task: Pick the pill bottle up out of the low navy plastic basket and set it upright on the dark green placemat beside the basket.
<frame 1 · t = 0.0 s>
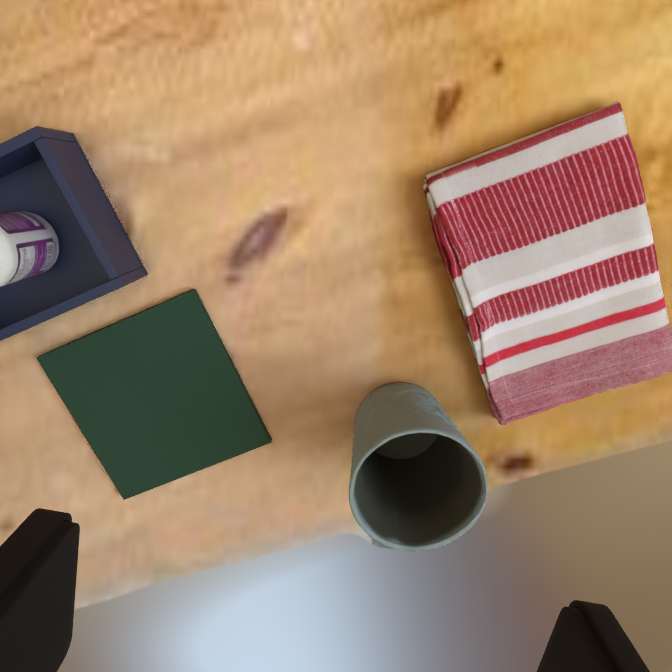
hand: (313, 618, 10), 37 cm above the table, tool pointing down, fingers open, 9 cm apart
dish towel: (548, 274, 46), on the table
mat: (158, 398, 49), on the table
basket: (33, 242, 45), on the table
gray cup: (399, 420, 50), on the table
pill bottle: (31, 243, 45), resting on basket
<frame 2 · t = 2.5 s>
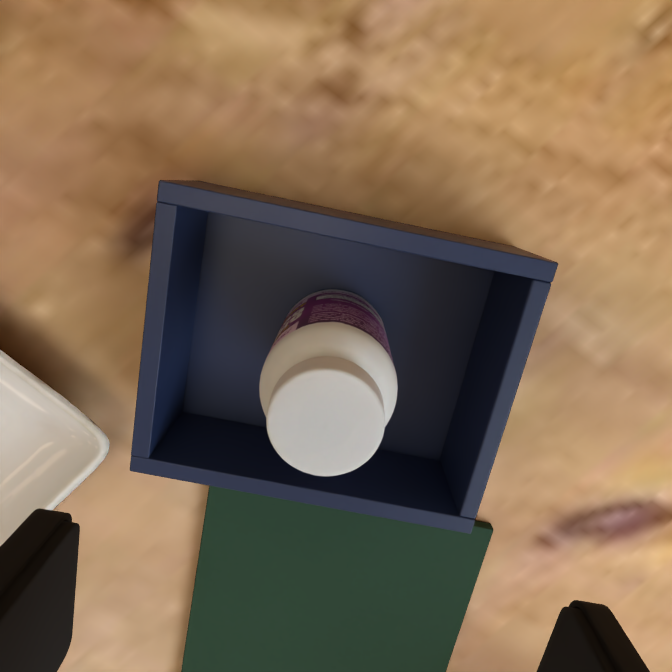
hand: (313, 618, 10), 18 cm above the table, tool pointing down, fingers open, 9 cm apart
mat: (326, 610, 32), on the table
basket: (332, 337, 27), on the table
pill bottle: (332, 338, 27), resting on basket
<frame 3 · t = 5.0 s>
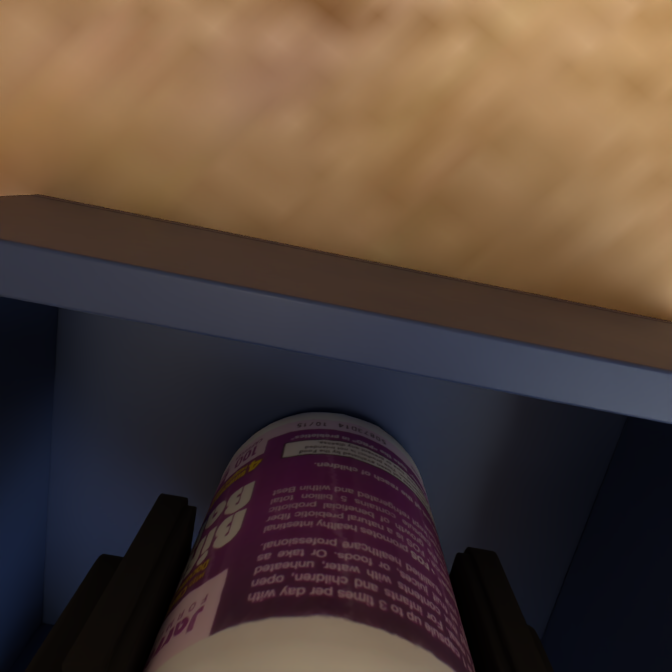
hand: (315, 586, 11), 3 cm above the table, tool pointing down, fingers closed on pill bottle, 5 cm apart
basket: (321, 490, 14), on the table
pill bottle: (321, 494, 14), resting on basket, touching gripper
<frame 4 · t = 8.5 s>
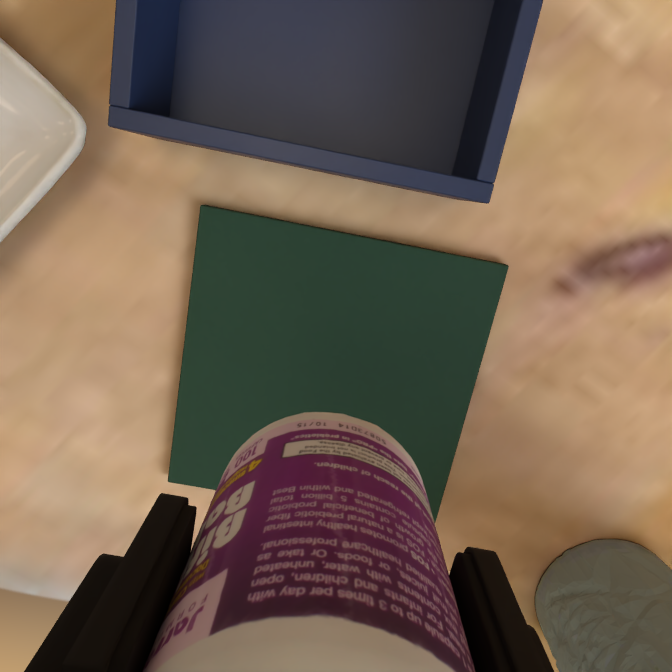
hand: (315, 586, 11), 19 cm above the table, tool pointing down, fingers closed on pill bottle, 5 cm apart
mat: (327, 376, 29), on the table
basket: (332, 30, 24), on the table
gray cup: (602, 590, 33), on the table
pill bottle: (321, 494, 14), point 15 cm above the table, touching gripper
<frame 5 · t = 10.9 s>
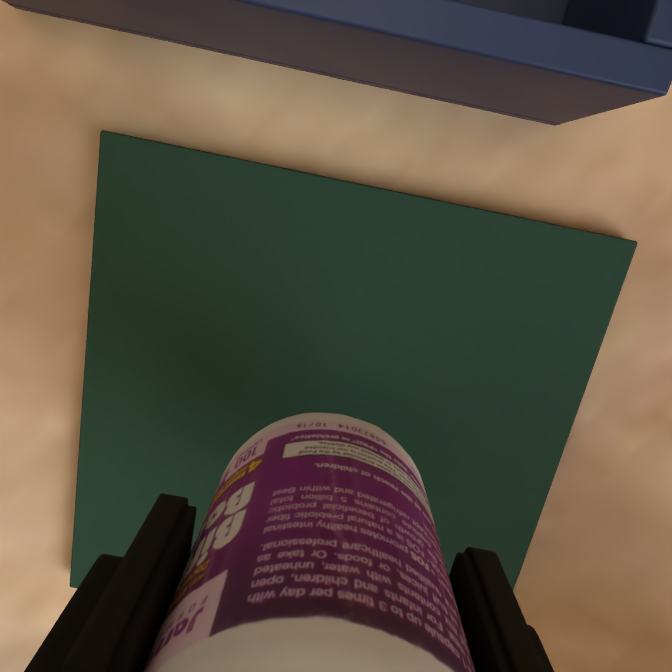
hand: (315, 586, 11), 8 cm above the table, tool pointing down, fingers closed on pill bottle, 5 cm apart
mat: (324, 424, 18), on the table
pill bottle: (320, 495, 14), point 4 cm above the table, touching gripper
when the fingers open (4 cm above the table, at t = 12.3 s): pill bottle stays where it is, resting on mat.
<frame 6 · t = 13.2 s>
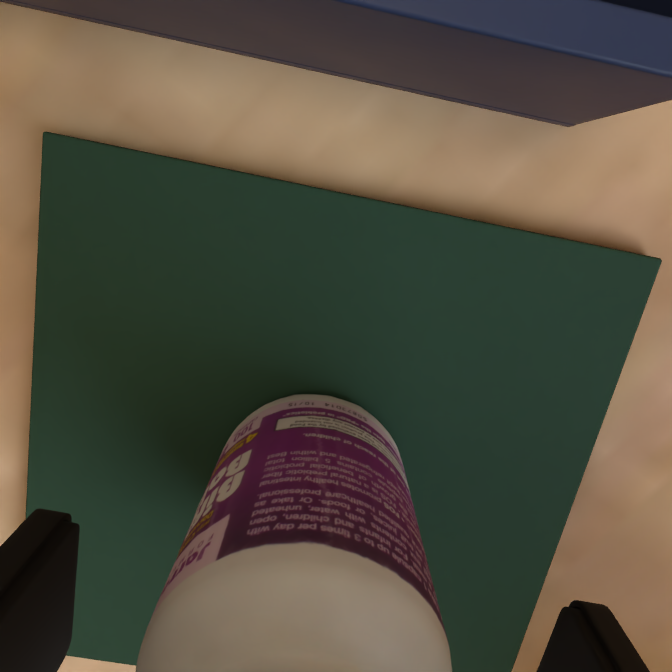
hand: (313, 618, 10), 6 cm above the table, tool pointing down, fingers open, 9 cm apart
mat: (307, 464, 16), on the table
pill bottle: (310, 470, 15), resting on mat
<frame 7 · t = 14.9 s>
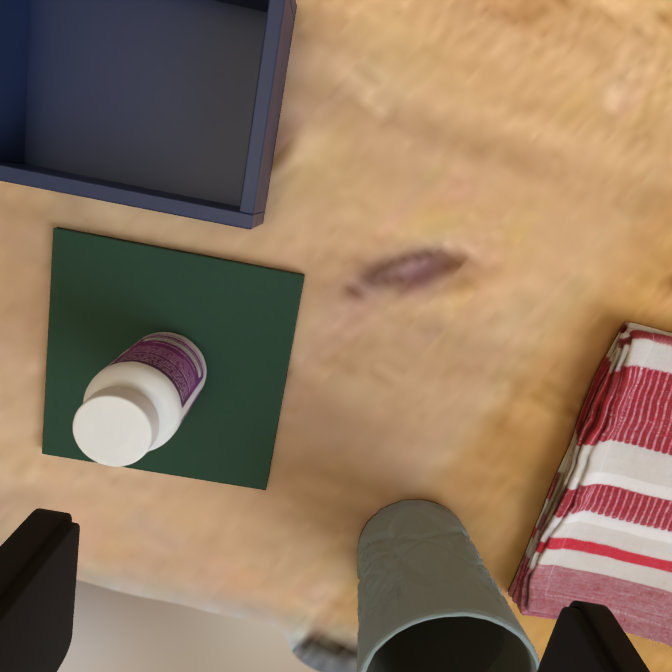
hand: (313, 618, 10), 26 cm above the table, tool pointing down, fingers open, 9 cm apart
dish towel: (658, 489, 39), on the table
mat: (169, 365, 36), on the table
basket: (150, 93, 31), on the table
gray cup: (414, 543, 40), on the table
pill bottle: (169, 367, 36), resting on mat
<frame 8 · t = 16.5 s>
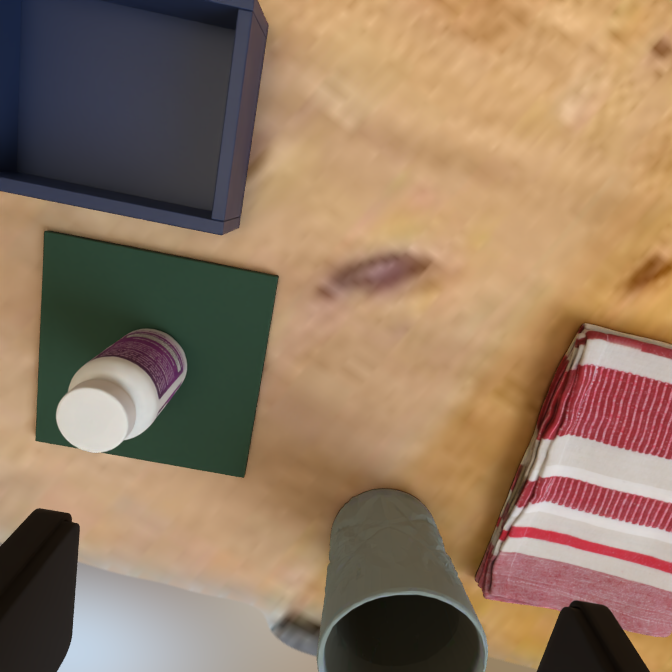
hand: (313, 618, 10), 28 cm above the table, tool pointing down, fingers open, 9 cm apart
dish towel: (618, 482, 41), on the table
mat: (153, 360, 38), on the table
basket: (133, 106, 34), on the table
gray cup: (385, 530, 43), on the table
pill bottle: (152, 361, 38), resting on mat
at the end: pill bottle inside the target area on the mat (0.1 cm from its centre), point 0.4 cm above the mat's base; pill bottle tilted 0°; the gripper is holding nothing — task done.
